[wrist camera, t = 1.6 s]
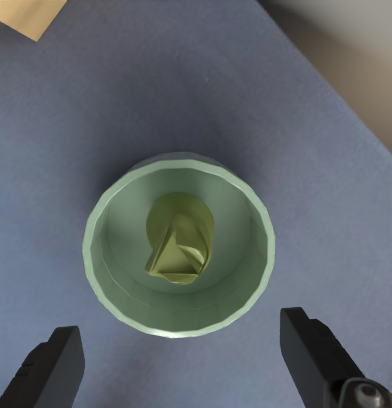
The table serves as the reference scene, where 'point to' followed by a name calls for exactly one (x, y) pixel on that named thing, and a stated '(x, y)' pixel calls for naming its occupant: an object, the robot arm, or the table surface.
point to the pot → (141, 250)
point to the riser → (29, 15)
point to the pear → (179, 237)
